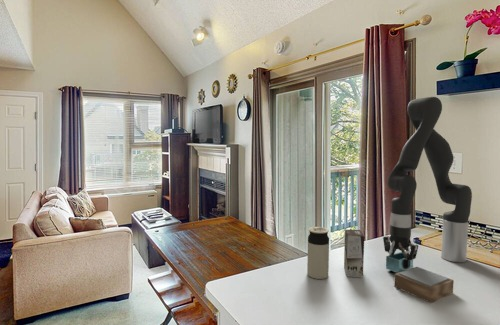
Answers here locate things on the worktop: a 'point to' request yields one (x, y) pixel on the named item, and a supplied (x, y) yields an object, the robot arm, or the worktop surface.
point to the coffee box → (354, 253)
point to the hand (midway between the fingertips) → (399, 265)
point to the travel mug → (318, 253)
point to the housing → (397, 262)
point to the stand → (424, 284)
